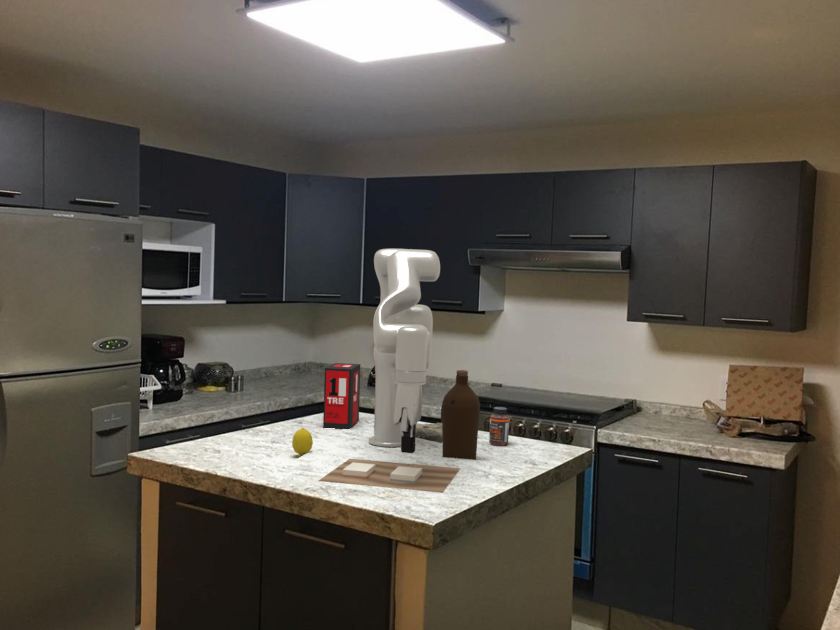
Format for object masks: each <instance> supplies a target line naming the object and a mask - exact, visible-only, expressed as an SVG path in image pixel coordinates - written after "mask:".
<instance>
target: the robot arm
mask: <svg viewBox="0 0 840 630" xmlns="http://www.w3.org/2000/svg"><path fill="white" fill-rule="evenodd" d="M373 264H374V266H373V267H374V271H375V274H376V277H377V280H378V283H379V287H380V302H379V304H378V306H377V308H376V310H375V312H374V316H373V326H372V327H373V342H374V343H373V344H374V346H373V361H374V363H373V364H374V371H375V372H374V373H375V377H374V378H375V385H374V386H375V387H374V388H375V394H374V420H373V423H374V425H373V426H374V429H373V436H371V437H369V438H368V443H369V444H370V445H373V446H376V447H377V446H378V447H386V448H387V447H388V448H393V447H394V448H395V447H398V448H399V447H400V452H401V453H402V454H403V453H406V454H414V453H415V452H416V438H417V437H416V436H413V435H415V434H416V423H419V422H420V420H421V418H422V411H423V410H422V409H423V385H426V384H427V383H426V382H427V370H429V368H430V366H431V362H432V349H433V346H432V345H433V332H434V331H433V328H434V327H433V326H434V323H433V322H434V319H433V312H432V310H431V308H430V307H429V306H428V305H425V304H418V303H419V302H420V300H421V299H422V292H421V283H420V282H436V281H437V280H438V278H439V277H440V274H441V263H440V257H439V256H438V254H437V252H435V251H433V250H430V249H429V250H428V249H413V248H409V249H408V248H382V249H378V250H376V252H375V254H374V257H373Z"/></svg>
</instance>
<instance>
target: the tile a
mask: <svg viewBox="0 0 840 630" xmlns="http://www.w3.org/2000/svg"><path fill="white" fill-rule="evenodd" d="M375 467H376V464H366V463H355V462H352V463H351V464H350V465H348V466H347V467H346V468H344V469H343V476H347V477H358V478H367V477H368V476H370V475H371V474H372V473H373V472H374V471H375Z"/></svg>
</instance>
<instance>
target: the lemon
mask: <svg viewBox="0 0 840 630" xmlns="http://www.w3.org/2000/svg"><path fill="white" fill-rule="evenodd" d="M313 440H314V439H313V437H312V433H311V431H309V430H308V429H306V428H304V427H301V428H300V429H297V431H295V432H294V434H293V437H292V440H291V441H292V448H293V450H294V452H295V453H296V454H298V455H299V456H300V457H303V456H304V455H307V454H308V453H310V451H311V450H312V448H313V443H314V442H313Z"/></svg>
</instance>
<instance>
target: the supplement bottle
mask: <svg viewBox="0 0 840 630" xmlns="http://www.w3.org/2000/svg"><path fill="white" fill-rule="evenodd" d="M507 409H508V408H506V407H503V406H495V407H493V413H492V414H491V415H490V416H489V417H490V418H489V437H488V442H489V444H490V445H491V446H499V447H504V446H507V445H508V444H509V434H510V416H509V415H508V413H507V411H508V410H507Z"/></svg>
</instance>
